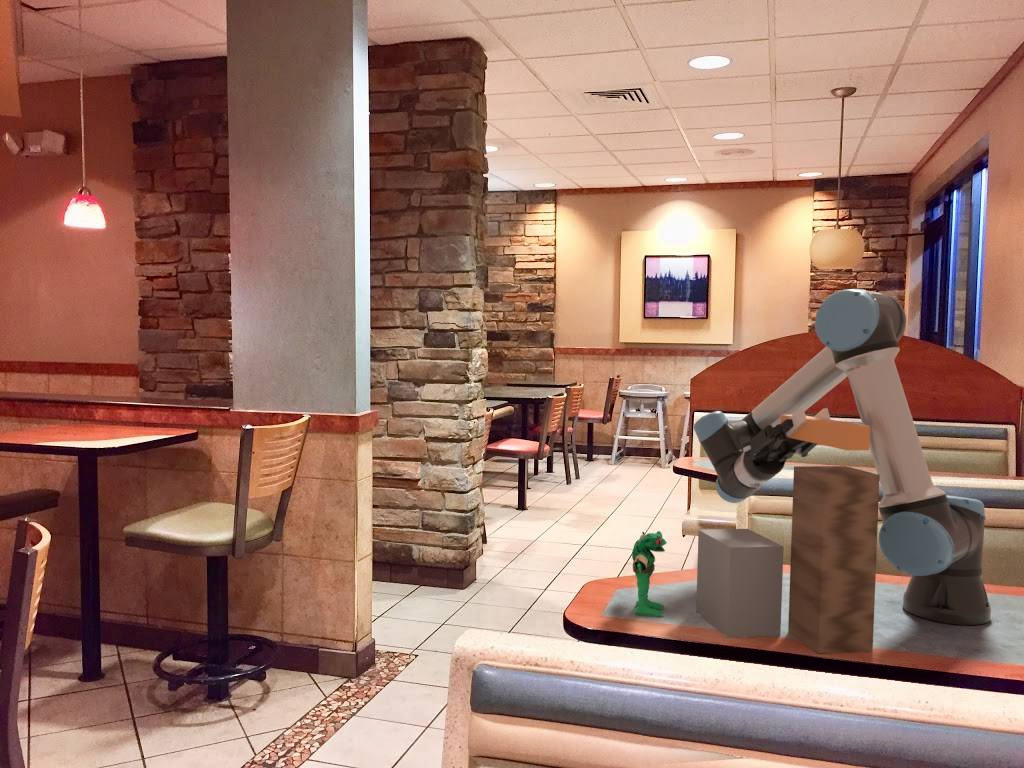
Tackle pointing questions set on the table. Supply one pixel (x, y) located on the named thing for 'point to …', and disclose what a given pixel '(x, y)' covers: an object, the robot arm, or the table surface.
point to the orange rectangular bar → (833, 433)
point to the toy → (646, 571)
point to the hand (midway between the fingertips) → (815, 415)
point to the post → (833, 558)
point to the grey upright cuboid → (739, 582)
